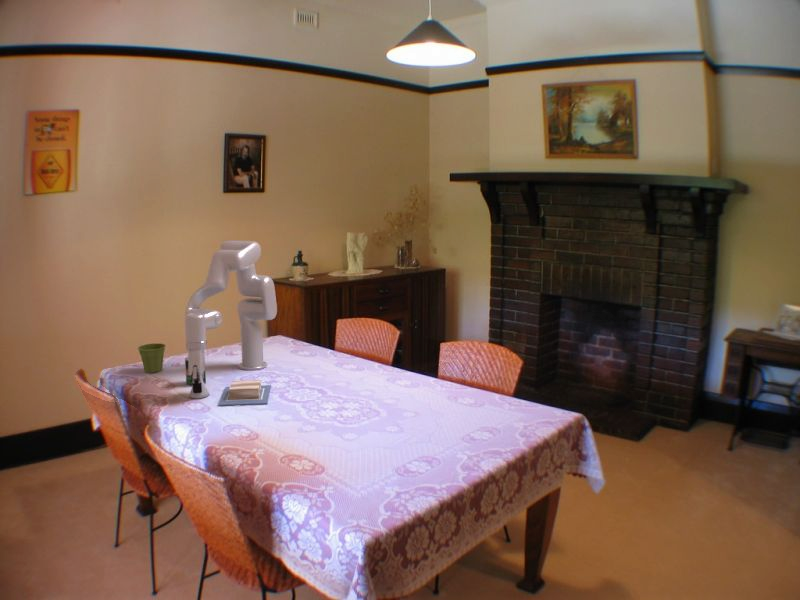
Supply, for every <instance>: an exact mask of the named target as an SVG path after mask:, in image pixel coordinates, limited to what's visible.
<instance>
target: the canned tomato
mask: <svg viewBox="0 0 800 600" xmlns="http://www.w3.org/2000/svg"><path fill="white" fill-rule="evenodd" d="M184 364H185V366H184V367H185V383H186V384H185V385H186V386H187V385H188V387H192V386H193V374H192V375H191V376H189V374H188V356H187V357H185V358H184ZM203 374H204V384H205V385H206V384H207V376H206V375H207V373H206V369H205V370H204V372H203Z"/></svg>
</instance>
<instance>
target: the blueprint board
mask: <svg viewBox="0 0 800 600" xmlns="http://www.w3.org/2000/svg"><path fill="white" fill-rule="evenodd" d="M229 388H230V386H226V387H225V388H224V390H223V393H222V395H221V396H220V399H219V402H218V404H217V406H218V407H233V406H234V405H240V406H257V405H259V406H261V405H262V406H263V404H265V405H268V402H269V399H270V398H269V397H270V394H269V393H271V388H272V385H271V384H269V385H266V384H265V385H261V392H260V396H259V399H234V400H229ZM234 407H235V406H234Z"/></svg>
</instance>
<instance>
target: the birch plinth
mask: <svg viewBox="0 0 800 600" xmlns="http://www.w3.org/2000/svg"><path fill="white" fill-rule="evenodd" d="M261 386H262V380H261V379H255V380H253V379H251V380H232V381H231V384H230V386H229V387H230V388H229V400H234V399H259V396H260V392H261Z"/></svg>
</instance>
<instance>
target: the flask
mask: <svg viewBox="0 0 800 600" xmlns="http://www.w3.org/2000/svg"><path fill="white" fill-rule="evenodd" d="M197 375H199V374H197ZM197 378H199V377H197ZM201 383H202V393H193V386H191V389H190V392H189V395H188V397H190V398H191V399H203V398H207V397H208V396H209V395H210V393H209V391H208V388H207V387H206V384H204V382H203V378H202V375H201Z"/></svg>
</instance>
